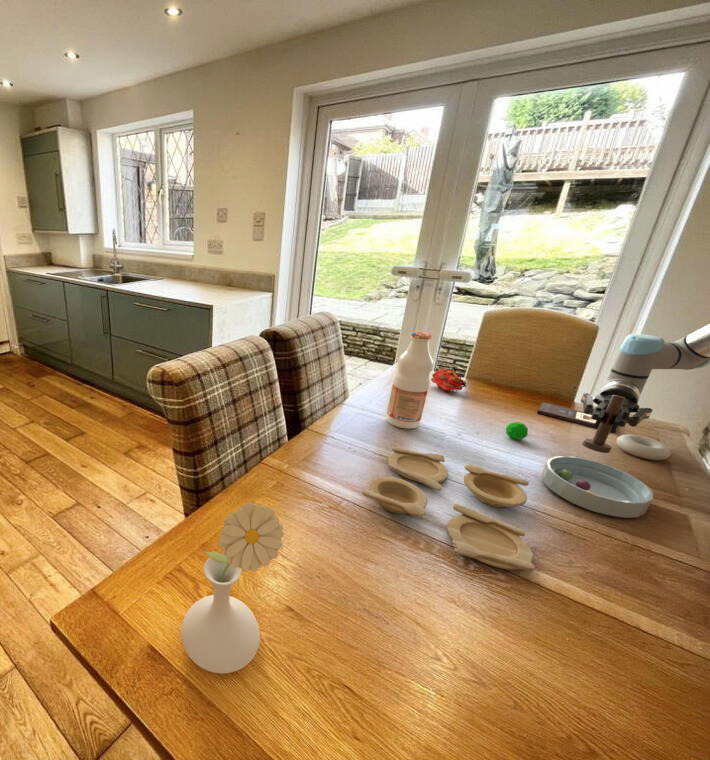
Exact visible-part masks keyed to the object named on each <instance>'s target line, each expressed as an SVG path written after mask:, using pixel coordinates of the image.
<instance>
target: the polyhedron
mask: <svg viewBox="0 0 710 760" xmlns="http://www.w3.org/2000/svg"><path fill="white" fill-rule="evenodd" d="M505 429H506V430H505V434H506V435H507V436H508V438H510V439H513V440H515V441H516V440H523V439H525V438H526V437H528V432H529V428H528V426H527V425H526V424H524V423H523V422H520V421H515V422H510V423H508V424H507V425H506V428H505Z"/></svg>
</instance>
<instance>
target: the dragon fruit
mask: <svg viewBox="0 0 710 760" xmlns="http://www.w3.org/2000/svg"><path fill="white" fill-rule="evenodd" d="M431 376H432V377H431V378H430V380H431V382H432V383H433V384H436V387H437V389H438V390H441V389H442V390H444V391H446V392H447V393H450V394H456V391H462V390H463V388H467V382H466V381H465V379H462V375H461V374H459V373H458V372H456V371H454V369H448V368H447V367H442V368H438V369H437V370H435V371H434V372H433V373H432V375H431Z"/></svg>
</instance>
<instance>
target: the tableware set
mask: <svg viewBox="0 0 710 760" xmlns="http://www.w3.org/2000/svg"><path fill="white" fill-rule="evenodd" d="M391 451H392V453H390V455H389V456H388V458H387V462H388V464H387V467H388V468H389V469H391V470H393V471H395V472H396V473H397V474H399V475H400V476H402V477H404V478H407V479H409V480H412V481H415V482H419V483H421V484H423V485H425V486H427V487H429V488H432V489H434V490H436V491H437V492H440V491H441V490H442V487H443V486H442V484H441V483H442V482H444V481H445V480H447V479H448V477H449V471H448V468H447V467H446V466H445V465H444V464H443V463H445V462H446V460H445V456H444V454H438V453H433V452H429V453H424V452H419V451H414V450H410V449H405V448H401V447H396V446H392V448H391ZM463 466H464V470H466V471H467V472H468V473H466V474H465V475H464V477H463V483H464V485H465V487H466V489H468V490H469V491H470V492H471V493H473V495H474V497H475V498H476V499H477V500H479V501H480V502H482V503H484V504H486V505H488V506H491V507H496V508H506V507H520V506H523V505H524V504H526V502H527V501H528V495H527V493H526V491H525V490H524V489H523V488H522V486H525V487H527V486H529V481H528V480H526V479H524V478H520V477H516V476H512V475H507V474H502V473H498V472H495V471H490V470H488V469H484V468H483V467H481V466H479V465H476V464H468V463H467V464H465V465H463ZM361 494H362V496H364V497H366V498H369V499H372V500H374V501H376V502H377V503H379V505H380V506H381V507H382V508H383V509H385V510H386V511H389V512H390V513H393V514H397V515H406V514H409V515H411V516H415V517H424V516H426V513H427V511H426V507H427V505H428V498H427V496H426V494H425V492H424V491H423V490H421V489H420V488H419V487H418V486H416V485H414V484H413V483H411V482H409V481H406V480H404V479H402V478H398V477H392V476H379V477H374V478H373V479H371V480H370V481H369V482H368V489H362V491H361ZM452 508H453V510H454V511H456V512H458V513H460V514H459V515H456V516H453V517H451V518H450V519H449V520H448V521H447V523H446V532H447V535H448V537H449V538H450V540H451V543H452V547H453V552H454V553H455V554H457V555H461V556H465V557H468V558H471V559H475V560H477V561H478V562H481V563H483V564H486V565H488V566H491V567H495V568H499V569H502V570H512V571H513V570H516V571H517V570H525V571H528V572H533V571H534V570H535V565H534V564H533V563H532V562H533V558H534V554H533V552H532V549H531V547H530V545H528V543H527V541H525V540H524V539H523V538H522V537H525V535H526V531H525V530H523V529H522V528H519V527H516V526H514V525H511V524H509V523H507V522H504V521H501V520H499V519H497V518H494V517H492V516H489V515H487V514H484V513H482V512H479V511H476V510H474V509H472V508H470V507H466V506H464V505H461V504H459V503H455V502H454V504H453V506H452Z"/></svg>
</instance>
